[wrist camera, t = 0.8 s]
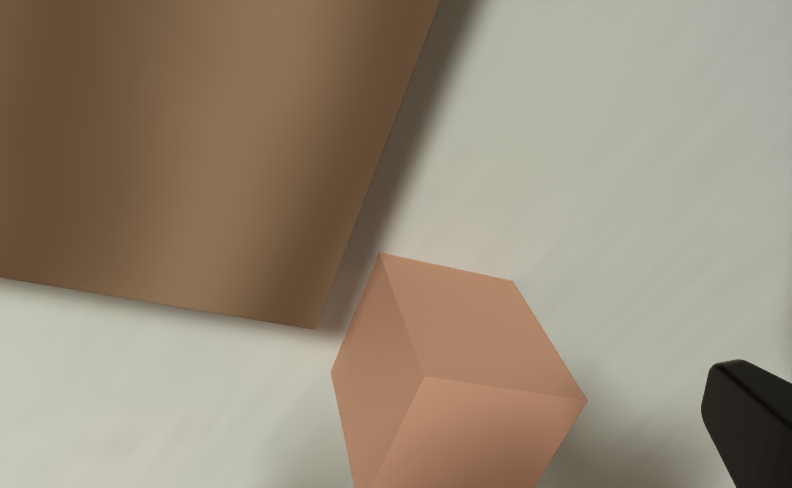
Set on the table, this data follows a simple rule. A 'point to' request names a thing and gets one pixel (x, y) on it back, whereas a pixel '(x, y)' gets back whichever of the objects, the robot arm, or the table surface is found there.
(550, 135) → the table surface
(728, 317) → the table surface
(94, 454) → the table surface
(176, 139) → the walnut plinth
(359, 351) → the terracotta block
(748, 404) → the robot arm
